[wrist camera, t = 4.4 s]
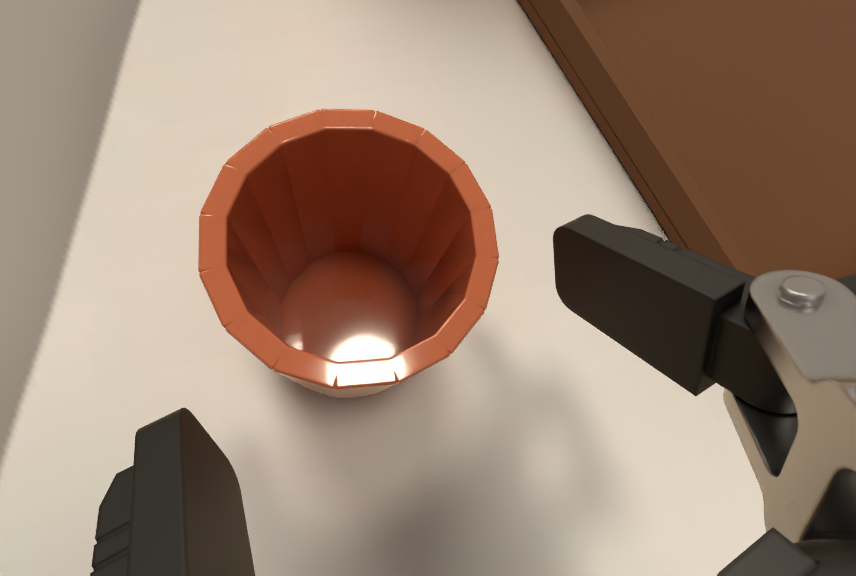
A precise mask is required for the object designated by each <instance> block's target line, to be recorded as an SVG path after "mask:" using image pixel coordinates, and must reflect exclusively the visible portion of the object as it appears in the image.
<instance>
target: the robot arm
mask: <svg viewBox="0 0 856 576" xmlns="http://www.w3.org/2000/svg"><path fill="white" fill-rule="evenodd" d="M553 248H554V265H555V283H556V289H557V292H558V295H559V297H560V299H561V300H562V302H563V303H564V304H565V306H566V307H567V308H569V309H570V310H571V311H573V312H574V313H575V314H577V315H578V316H580V317H581V318H583V319H584V320H586V321H587V322H589V323H590V324H591V325H593V326H594V327H596V328H597V329H599V330H600V331H602V332H603V333H605V334H606V335H607V336H609V337H610V338H612V339H613V340H615V341H616V342H618V343H619V344H621V345H622V346H623V347H625V348H626V349H628V350H629V351H631V352H632V353H634V354H635V355H637V356H638V357H639V358H641V359H642V360H644V361H645V362H647V363H648V364H650V365H651V366H653V367H654V368H655V369H657V370H658V371H660V372H661V373H663V374H664V375H666V376H667V377H669V378H670V379H671V380H673V381H674V382H676V383H677V384H679V385H680V386H682V387H683V388H685V389H686V390H687V391H689V392H690V393H692V394H693V395H695V396H697V395H699V394H700V393H702V392H703V391H704V390H706V389H707V388H709V387H710V386H712V385H713V384H715V383H718V384H719V385H721V386H722V387H724V388H725V389H724V393H723V399H724V403H725V405H726V408H727V410H728V412H729V415H730V417H731V419H732V422H733V424H734V426H735V429H736V431H737V433H738V436H739V438H740V440H741V443H742V445H743V447H744V450H745V452H746V454H747V457H748V459H749V461H750V464H751V466H752V468H753V471H754V473H755V475H756V478H757V480H758V482H759V485H760V488H761V491H762V495H763V501H764V520H765V527H766V533H765V534H764V535H763V536H762V537H760V538H759V539H758V540H757V541H756V542H755V543H753V544H752V545H751V546H750V547H749V548H747V549H746V550H745V551H744V552H743V553H741V554H740V555H739V556H738V557H737V558H736V559H734V560H733V561H732V562H731V563H730V564H728V565H727V566H726V567H725V568H724V569H723V570H721V571H720V572H719V573H718V575H717V576H856V274H855V275H851V276H847V277H843V278H839V279H835V280H834V279H832V278H829V277H827V276H824V275H821V274H817V273H813V272H808V271H801V270H776V271H771V272H767V273H764V274H761V275H760V276H758V277H754V276H751V275H749V274H747V273H744V272H742V271H739V270H737V269H735V268H732V267H730V266H727V265H725V264H723V263H720V262H718V261H715V260H713V259H711V258H708V257H706V256H703V255H701V254H699V253H696V252H694V251H692V250H689V249H687V248H684V249H682V248H681V246H680V245H677V244H675V243H672V242H670V241H668V240H666V241H663V238H660V237H658V236H656V235H653V234H651V233H648V232H646V231H644V230H641V229H636V228H630V227H624V226H619V225H614V224H612V223H609V222H607V221H605V220H602V219H600V218H598V217H596V216H593V215H589V214H587V215H583V216H581V217H579V218H577V219H575V220H573V221H571V222H569V223H567V224H565V225H563V226H561V227H558V228H557V229H556V230H555V232H554V235H553ZM95 539H96V541H97V544H96V545H94V552H93V560H92V567H93V569H94V572H92V573H91V575H90V576H255V572H254V566H253V560H252V554H251V548H250V543H249V537H248V531H247V525H246V519H245V513H244V508H243V502H242V496H241V490H240V486H239V482H238V479H237V476H236V474H235V472H234V469H233V467H232V465H231V464H230V462H229V460H228V459H227V457H226V456H225V455H224V453H223V452H222V451H221V449H220V448H219V447H218V446H217V444H216V443H215V442H214V441H213V439H212V438H211V437H210V435H209V434H208V433H207V432H206V430H205V429H204V428H203V427H202V425H201V424H200V423H199V421H198V420H197V419H196V418H195V416H194V415H193V414H192V413H191V412H190V411H189V410H188V409H186V408H181V409H179V410H177V411H175V412H173V413H171V414H169V415H167V416H165V417H163V418H161V419H159V420H157V421H154V422H152V423H150V424H148V425H146V426H144V427H142V428H140V429H138V431H137V432H136V437H135V451H134V465H133V466H131V467H129V468H127V469H125V470H123V471H121V472H119V473H117V474H116V476H115V478H114V480H113V481H112V483H111V485H110V487H109V489H108V491H107V493H106V495H105V497H104V499H103V501H102V503H101V505H100V507H99V513H98V521H97V529H96V536H95Z"/></svg>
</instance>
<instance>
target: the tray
mask: <svg viewBox="0 0 856 576" xmlns="http://www.w3.org/2000/svg"><path fill="white" fill-rule="evenodd" d="M518 1H519V2H520V4H521V5H522V7H523V9H524V10H525V12H526V13H527V15H528V16H529V18H530V20H531V21H532V23H533V24H534V26H535V27H536V29H537V31H538V32H539V34H540V35H541V37H542V39H543V40H544V42H545V43H546V45H547V46H548V48H549V50H550V51H551V53H552V54H553V56H554V57H555V59H556V61H557V62H558V64H559V65H560V67H561V68H562V70H563V72H564V73H565V75H566V76H567V78H568V79H569V81H570V83H571V84H572V86H573V87H574V89H575V90H576V92H577V94H578V95H579V97H580V98H581V100H582V101H583V103H584V105H585V106H586V108H587V109H588V111H589V113H590V114H591V116H592V117H593V119H594V120H595V122H596V124H597V125H598V127H599V128H600V130H601V131H602V133H603V135H604V136H605V138H606V139H607V141H608V142H609V144H610V146H611V147H612V149H613V150H614V152H615V153H616V155H617V157H618V158H619V160H620V161H621V163H622V164H623V166H624V168H625V169H626V171H627V172H628V174H629V175H630V177H631V179H632V180H633V182H634V183H635V185H636V187H637V188H638V190H639V191H640V193H641V194H642V196H643V198H644V199H645V201H646V202H647V204H648V205H649V207H650V209H651V210H652V212H653V213H654V215H655V216H656V218H657V220H658V221H659V223H660V224H661V226H662V227H663V229H664V231H665V232H666V234H667V235H668V237H669V238H670V240H671V242H672V243H675V244H677V245H680V246H681V248H682V249H684V248H687V249H689V250H692V251H694V252H696V253H699V254H701V255H703V256H706V257H708V258H711V259H713V260H715V261H718V262H720V263H723V264H725V265H727V266H730V267H732V268H735V269H737V270H739V271H742V272H744V273H747V274H749V275H751V276H754V277H758V276H760V275H761V274H764V273H767V272H771V271H776V270H801V271H808V272H813V273H817V274H821V275H824V276H827V277H829V278H832V279H834V280H835V279H839V278H843V277H847V276H851V275H855V274H856V0H518Z"/></svg>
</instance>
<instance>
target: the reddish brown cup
mask: <svg viewBox="0 0 856 576" xmlns="http://www.w3.org/2000/svg"><path fill="white" fill-rule="evenodd" d="M498 258H499V254H498V247H497V241H496V234H495V227H494V220H493V213H492V209H491V206H490V204H489V202H488V200H487V199H486V197H485V195H484V193H483V192H482V190H481V188H480V186H479V185H478V183H477V181H476V179H475V178H474V176H473V174H472V172H471V171H470V169H469V167H468V166H467V164H465V161H464V160H462V159H461V158H460V157H459V156H458V155H456V154H455V153H454V152H453V151H452V150H450V149H449V148H448V147H447V146H446V145H444V144H443V143H442V142H441V141H440V140H438V139H437V138H436V137H435V136H434V135H432V134H431V133H430V132H429V131H428V130H424V129H423V128H422V127H419V126H416V125H413V124H411V123H408V122H405V121H403V120H400V119H397V118H395V117H392V116H389V115H387V114H384V113H381V112H378V111H375V112H374V110H348V109H321V111H320V110H316V111H313V112H310V113H307V114H304V115H301V116H298V117H295V118H292V119H289V120H286V121H283V122H280V123H277V124H274V125H271V126H269V129H268V128H266V129H264V130H263V131H262V132H261V133H260V134H258V135H257V136H256V137H255V138H254V139H252V140H251V141H250V142H249V143H248V144H247V145H245V146H244V147H243V148H242V149H241V150H239V151H238V152H237V153H236V154H235V155H233V156H232V157H231V158H230V159H229V160H228V161H227V162H226V164H224V165H223V167H222V169H221V171H220V173H219V175H218V177H217V180H216V182H215V184H214V186H213V188H212V190H211V192H210V194H209V196H208V198H207V200H206V202H205V204H204V206H203V208H202V210H201V215H200V217H199V259H198V270H199V272H200V278H201V280H202V283H203V285H204V287H205V289H206V291H207V293H208V296H209V298H210V300H211V302H212V304H213V307H214V309H215V311H216V313H217V315H218V318H219V320H220V322H221V324H222V326H223V327H224V328H225V329H226V331H227V332H228V333H229V334H230V335H231V336H232V337H234V338H235V339H236V340H237V341H238V342H239V343H241V344H242V345H243V346H244V347H245V348H246V349H248V350H249V351H250V352H251V353H252V354H253V355H255V356H256V357H257V358H258V359H259V360H260V361H262V362H263V363H264V364H265V365H266V366H267V367H268V368H270V369H271V370H273V371H275V372H277V373H279V374H281V375H282V376H284V377H286V378H288V379H290V380H292V381H294V382H296V383H298V384H299V385H301V386H303V387H305V388H307V389H309V390H313V391H316V392H319V393H322V394H325V395H329V396H332V397H335V398H350V397H360V396H370V395H374V394H376V393H378V392H381V391H383V390H385V389H387V388H390V387H392V386H394V385H396V384H398V383H401V382H402V381H404V380H406V379H408V378H410V377H412V376H414V375H415V374H417V373H419V372H421V371H423V370H425V369H427V368H428V367H430V366H432V365H434V364H436V363H438V362H440V361H441V360H443V359H445V358H447V357H449V355H450V354H452V353H453V352H454V351H455V349H456V348H457V347H458V346H459V344H460V343H461V342H462V341H463V339H464V338H465V337H466V335H467V334H468V333H469V332H470V330H471V329H472V328H473V327H474V325H475V324H476V323H477V322H478V320H479V319H480V318H481V316H482V315H483V314H484V310H486V308H487V304H488V301H489V297H490V293H491V289H492V285H493V282H494V278H495V274H496V270H497V266H498V263H499V261H498Z"/></svg>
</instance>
